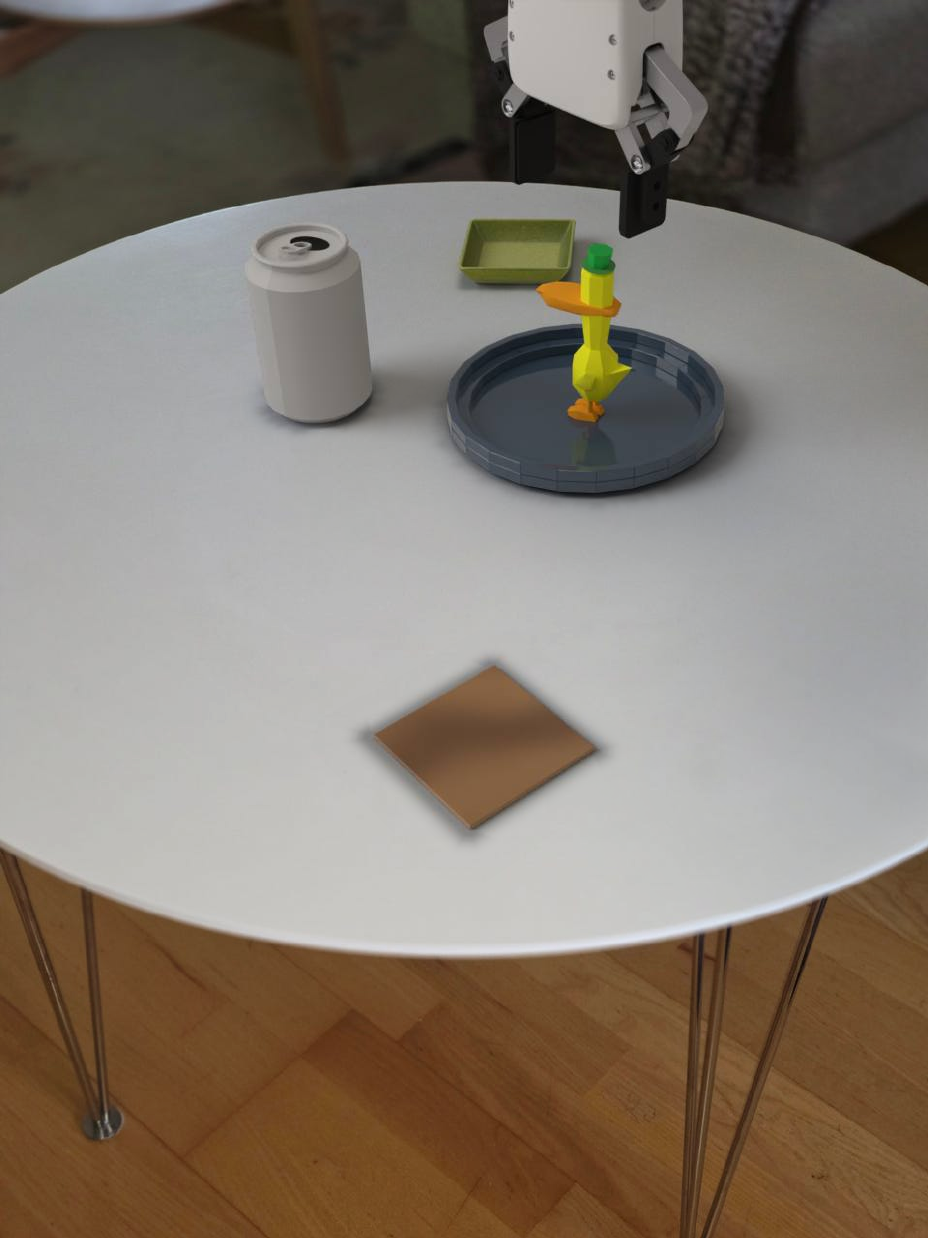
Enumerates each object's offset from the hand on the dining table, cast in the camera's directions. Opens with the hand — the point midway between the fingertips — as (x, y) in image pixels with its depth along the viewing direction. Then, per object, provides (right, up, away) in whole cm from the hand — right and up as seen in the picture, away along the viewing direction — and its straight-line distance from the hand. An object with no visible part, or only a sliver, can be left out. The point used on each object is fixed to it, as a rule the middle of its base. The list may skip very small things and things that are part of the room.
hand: (585, 202), depth 82 cm
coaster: (-6, -31, -12) cm, 34 cm away
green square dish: (-3, +3, +27) cm, 27 cm away
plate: (+1, -12, +10) cm, 15 cm away
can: (-17, -10, +13) cm, 24 cm away
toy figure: (+1, -11, +10) cm, 15 cm away
